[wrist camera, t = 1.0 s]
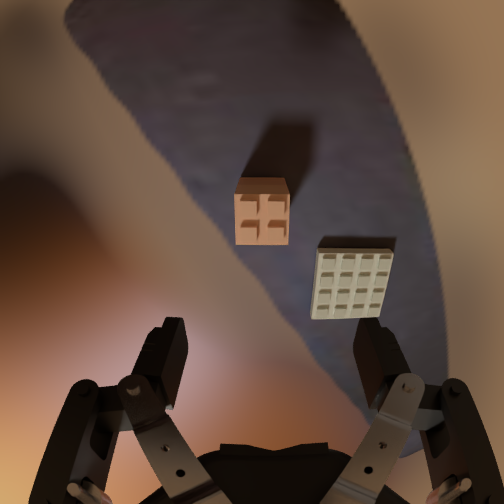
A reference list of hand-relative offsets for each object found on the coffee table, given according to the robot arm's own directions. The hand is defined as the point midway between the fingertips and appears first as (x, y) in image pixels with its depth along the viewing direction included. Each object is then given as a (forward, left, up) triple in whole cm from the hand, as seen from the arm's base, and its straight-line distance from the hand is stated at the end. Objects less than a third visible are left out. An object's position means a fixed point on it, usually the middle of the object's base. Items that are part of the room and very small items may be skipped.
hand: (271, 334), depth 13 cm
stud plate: (+8, +9, -17) cm, 21 cm away
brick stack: (-1, -1, -17) cm, 17 cm away
